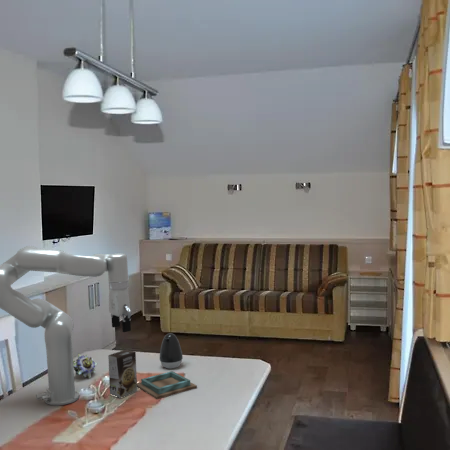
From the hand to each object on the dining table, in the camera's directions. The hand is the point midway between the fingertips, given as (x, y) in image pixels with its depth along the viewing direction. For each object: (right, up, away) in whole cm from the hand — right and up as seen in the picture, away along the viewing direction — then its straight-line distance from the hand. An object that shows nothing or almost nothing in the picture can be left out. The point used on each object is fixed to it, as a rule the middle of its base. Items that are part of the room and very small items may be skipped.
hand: (121, 329), depth 212 cm
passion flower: (-21, -25, +23) cm, 40 cm away
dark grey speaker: (+16, -23, +31) cm, 42 cm away
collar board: (+17, -25, +7) cm, 31 cm away
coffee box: (+1, -26, +2) cm, 26 cm away
